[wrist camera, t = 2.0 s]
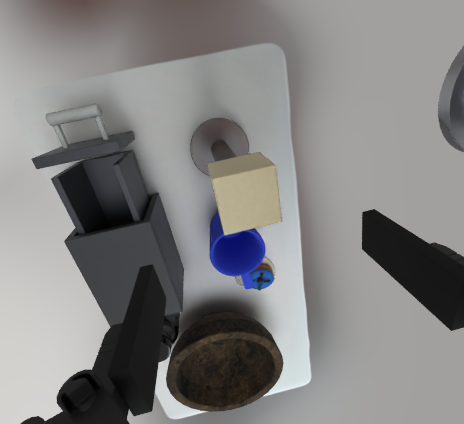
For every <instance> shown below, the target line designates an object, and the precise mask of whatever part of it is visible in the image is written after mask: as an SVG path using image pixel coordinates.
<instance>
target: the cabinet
mask: <svg viewBox="0 0 464 424" xmlns="http://www.w3.org/2000/svg"><path fill="white" fill-rule="evenodd" d="M148 196H149V199H150V205H149V207H148V210H147V213H146V216H145V218H144V220H143V221H138V222H134V223H130V224H125V225H121V226H117V227H112V228H108V229H104V230H99V231H95V232H91V233H87V234H82V235H79V233H78V231H77V229H76V228H75V229H74V230H73V231H72V233H71V234H70V235H69V236H68V237H67V239H66V240H65V244H66V246H67V247H68V249H69V251H70V253H71V255H72V257H73V258H74V260H75V262H76V264H77V266H78V268H79V270H80V272H81V273H82V275H83V277H84V279H85V281H86V283H87V284H88V286H89V288H90V290H91V292H92V294H93V295H94V297H95V299H96V301H97V303H98V305H99V307H100V308H101V310H102V312H103V314H104V315H105V317H106V319H107V321H108V323H109V325H110V327H111V326H112V325H115V324H119V323H123V321H124V318H125V315H126V311H127V308H128V305H129V302H130V298H131V295H132V292H133V289H134V285H135V282H136V279H137V276H138V272H139V269H140V267H142V266H147V265H151V264H153V266H154V268H155V271H156V273H157V276H158V278H159V281H160V283H161V286H162V288H163V290H164V293H165V295H166V298H167V300H166V308H165V316H167V315H171V314H175V313H178V312H182V305H183V276H184V268H183V265H182V262H181V259H180V256H179V253H178V250H177V247H176V244H175V241H174V238H173V235H172V232H171V229H170V226H169V223H168V220H167V217H166V214H165V211H164V208H163V205H162V202H161V199H160V196H159V193H155V194H151V195H148Z"/></svg>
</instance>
